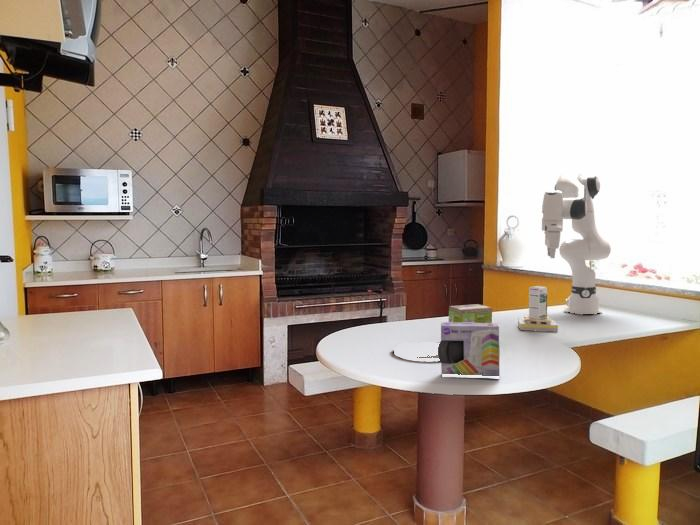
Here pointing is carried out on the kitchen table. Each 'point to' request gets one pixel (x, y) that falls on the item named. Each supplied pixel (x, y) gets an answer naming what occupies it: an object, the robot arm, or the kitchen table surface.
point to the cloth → (529, 320)
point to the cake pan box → (469, 348)
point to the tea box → (470, 313)
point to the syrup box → (538, 302)
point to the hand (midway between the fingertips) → (551, 257)
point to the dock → (538, 326)
